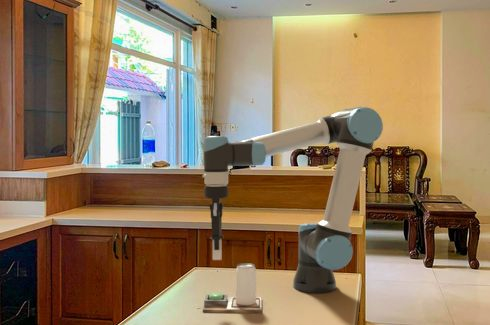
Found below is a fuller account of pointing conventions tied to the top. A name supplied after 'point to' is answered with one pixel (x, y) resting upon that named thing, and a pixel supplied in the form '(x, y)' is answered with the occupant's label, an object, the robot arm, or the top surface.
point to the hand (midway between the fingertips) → (217, 259)
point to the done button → (216, 296)
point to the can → (245, 284)
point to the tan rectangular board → (231, 305)
